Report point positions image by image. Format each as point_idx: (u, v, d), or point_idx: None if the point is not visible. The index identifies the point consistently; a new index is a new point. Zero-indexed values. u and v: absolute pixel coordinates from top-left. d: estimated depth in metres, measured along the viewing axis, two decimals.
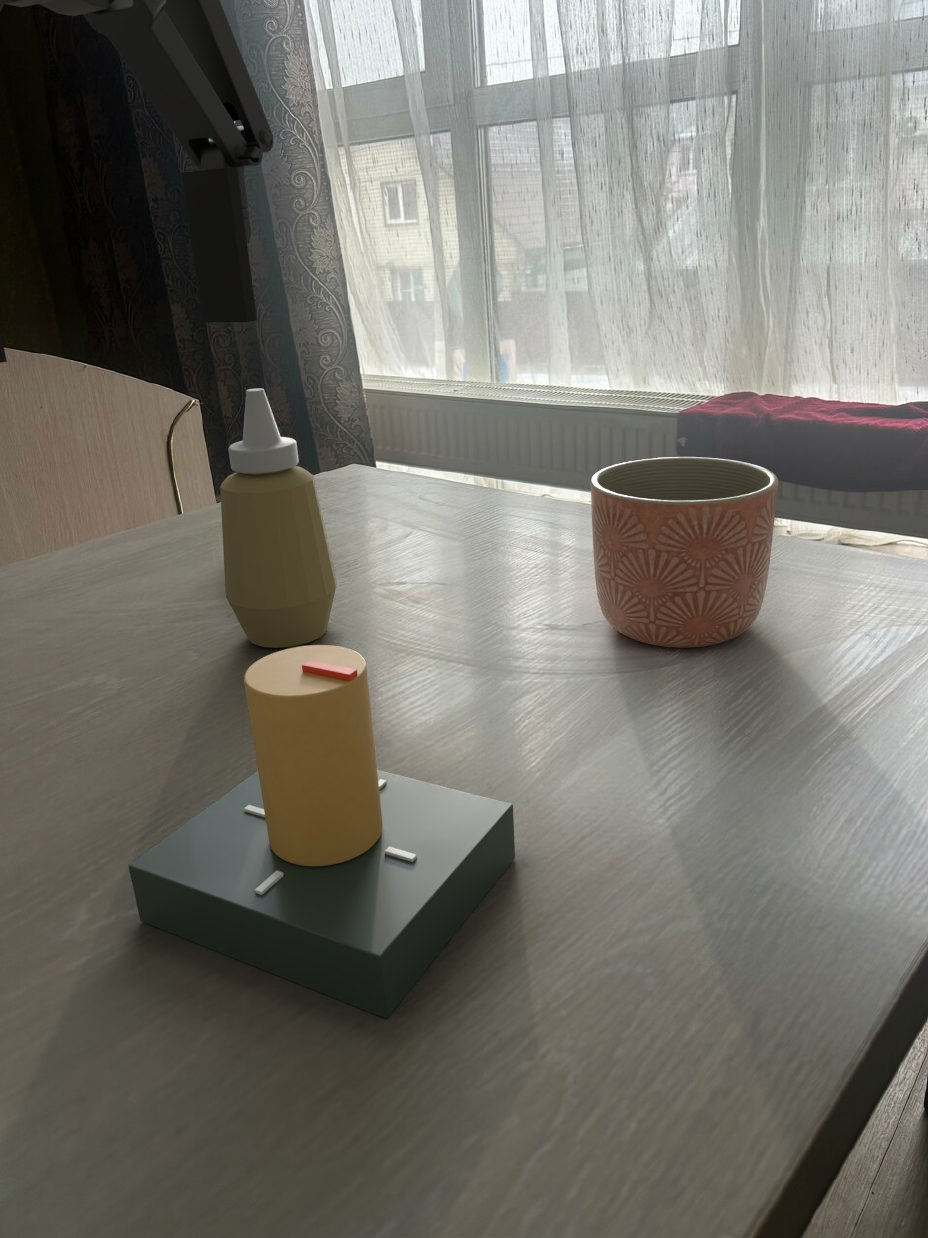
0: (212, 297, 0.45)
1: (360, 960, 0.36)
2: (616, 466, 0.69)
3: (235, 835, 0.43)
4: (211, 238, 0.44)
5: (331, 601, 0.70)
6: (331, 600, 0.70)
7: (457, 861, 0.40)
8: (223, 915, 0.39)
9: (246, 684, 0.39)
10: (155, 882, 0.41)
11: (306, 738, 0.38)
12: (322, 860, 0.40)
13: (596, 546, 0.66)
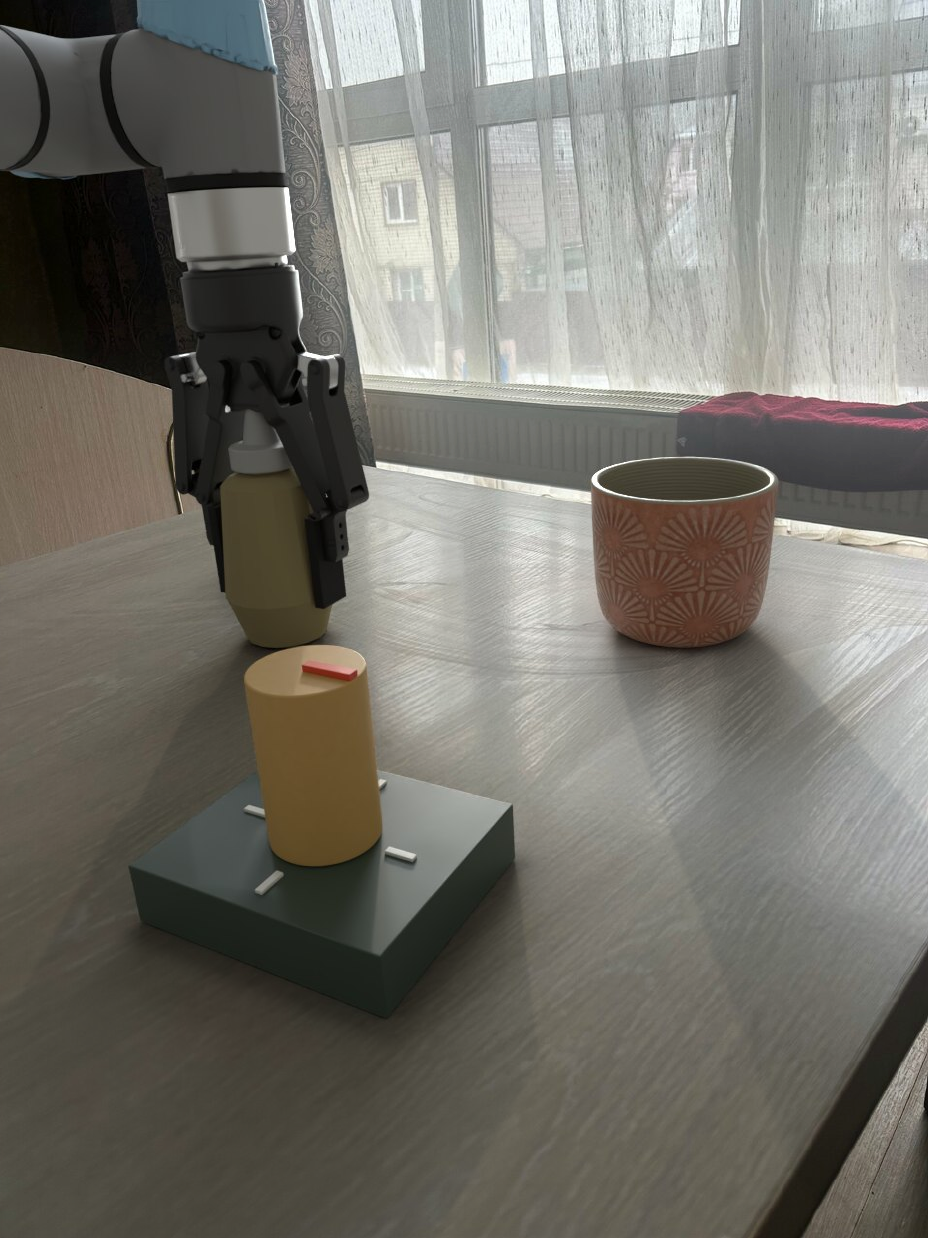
0: None
1: (360, 960, 0.36)
2: (616, 466, 0.69)
3: (235, 835, 0.43)
4: None
5: None
6: None
7: (457, 861, 0.40)
8: (223, 915, 0.39)
9: (246, 684, 0.39)
10: (155, 882, 0.41)
11: (306, 738, 0.38)
12: (322, 860, 0.40)
13: (596, 546, 0.66)
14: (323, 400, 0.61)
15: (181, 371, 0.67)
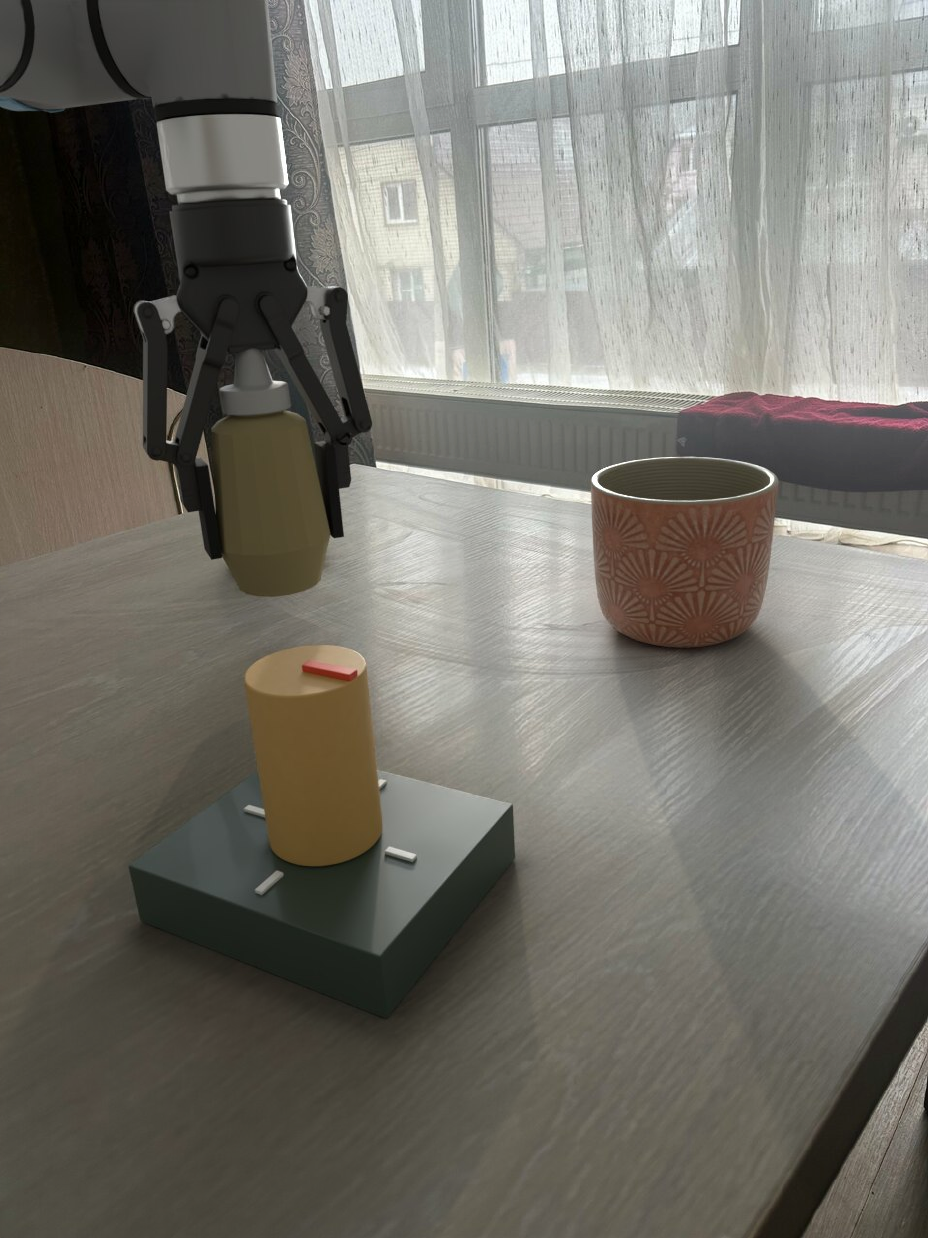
0: None
1: (360, 960, 0.36)
2: (616, 466, 0.69)
3: (235, 835, 0.43)
4: None
5: None
6: None
7: (457, 861, 0.40)
8: (223, 915, 0.39)
9: (246, 684, 0.39)
10: (155, 882, 0.41)
11: (306, 738, 0.38)
12: (322, 860, 0.40)
13: (596, 546, 0.66)
14: (346, 327, 0.65)
15: (159, 317, 0.61)
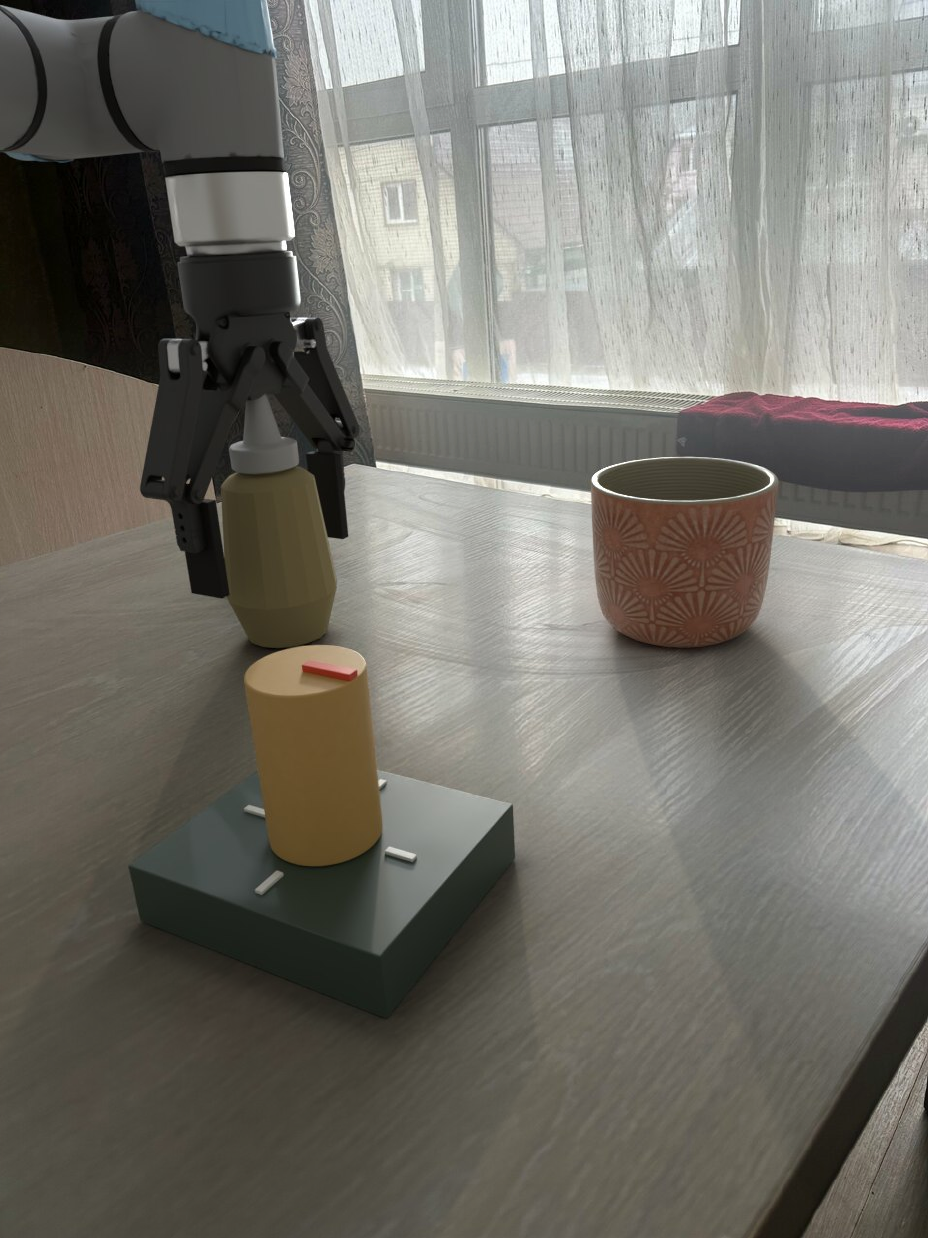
0: None
1: (360, 960, 0.36)
2: (616, 466, 0.69)
3: (235, 835, 0.43)
4: None
5: None
6: None
7: (457, 861, 0.40)
8: (223, 915, 0.39)
9: (246, 684, 0.39)
10: (155, 882, 0.41)
11: (306, 738, 0.38)
12: (322, 860, 0.40)
13: (596, 546, 0.66)
14: (327, 351, 0.70)
15: (199, 357, 0.59)
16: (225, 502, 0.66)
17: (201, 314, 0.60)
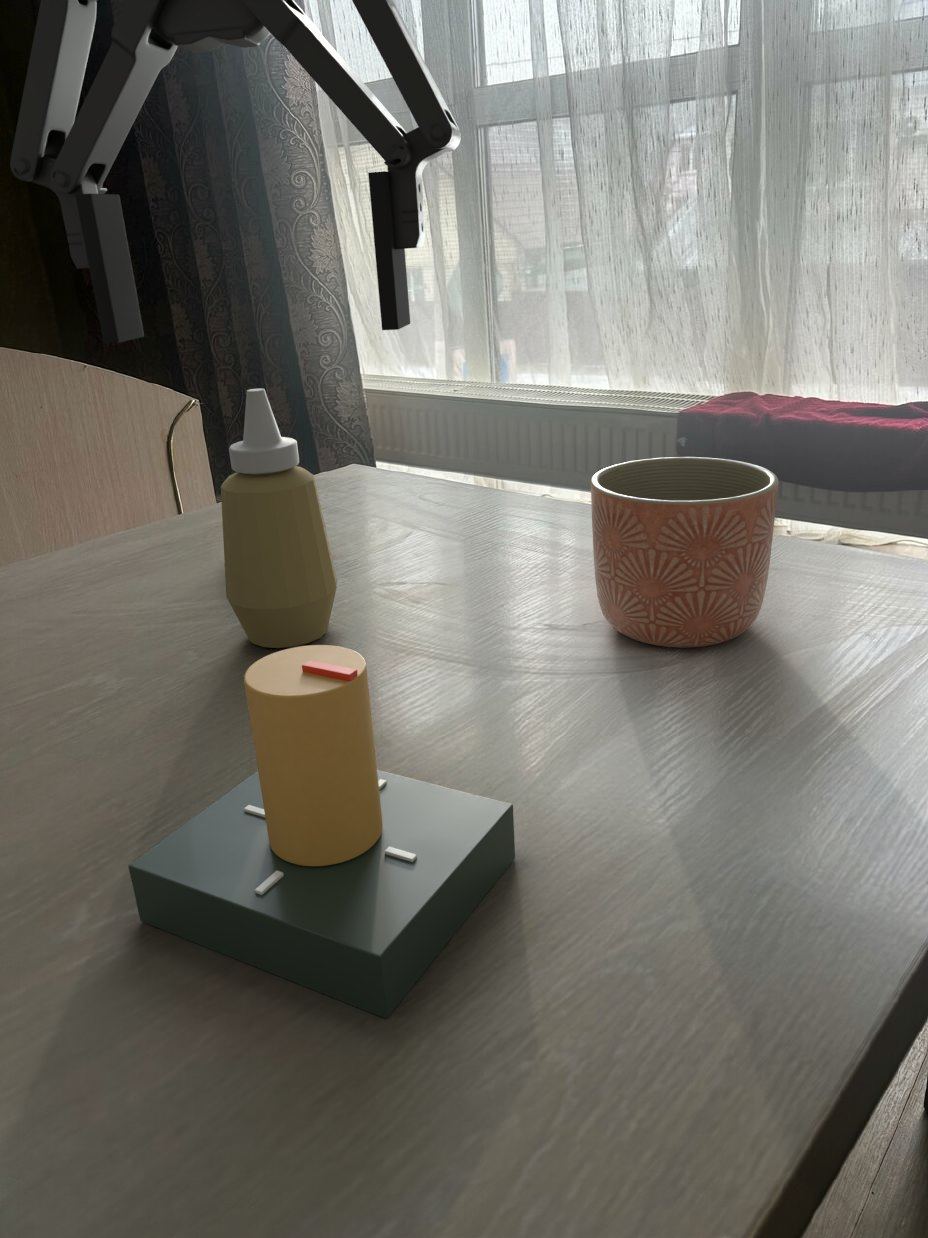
0: (122, 316, 0.46)
1: (360, 960, 0.36)
2: (616, 466, 0.69)
3: (235, 835, 0.43)
4: (116, 259, 0.46)
5: None
6: None
7: (457, 861, 0.40)
8: (223, 915, 0.39)
9: (246, 684, 0.39)
10: (155, 882, 0.41)
11: (306, 738, 0.38)
12: (322, 860, 0.40)
13: (596, 546, 0.66)
14: None
15: None
16: (225, 502, 0.66)
17: None
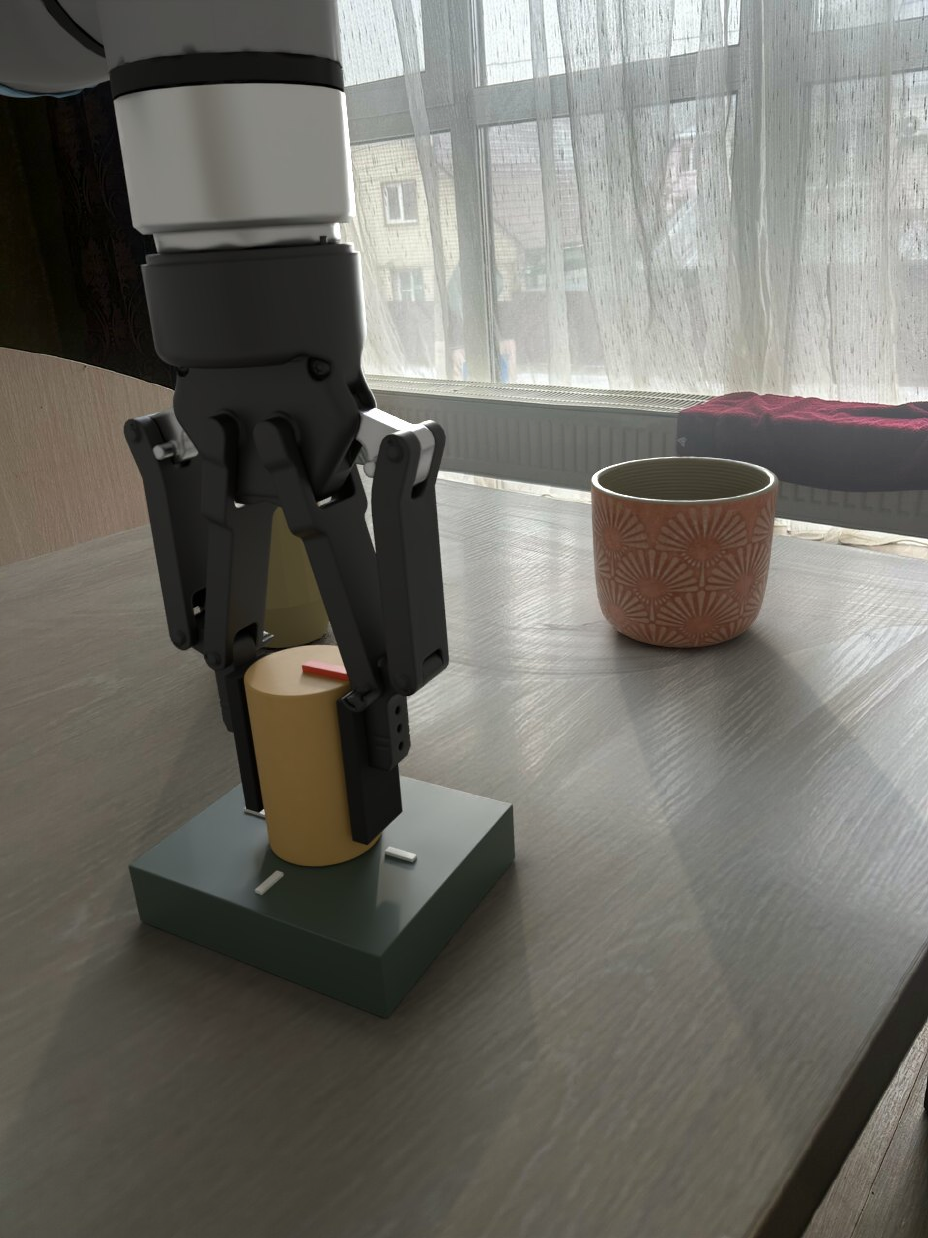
0: None
1: (360, 960, 0.36)
2: (616, 466, 0.69)
3: (235, 835, 0.43)
4: None
5: None
6: None
7: (457, 861, 0.40)
8: (223, 915, 0.39)
9: (246, 684, 0.39)
10: (155, 882, 0.41)
11: (306, 738, 0.38)
12: (322, 860, 0.40)
13: (596, 546, 0.66)
14: (400, 510, 0.33)
15: (153, 441, 0.38)
16: None
17: None
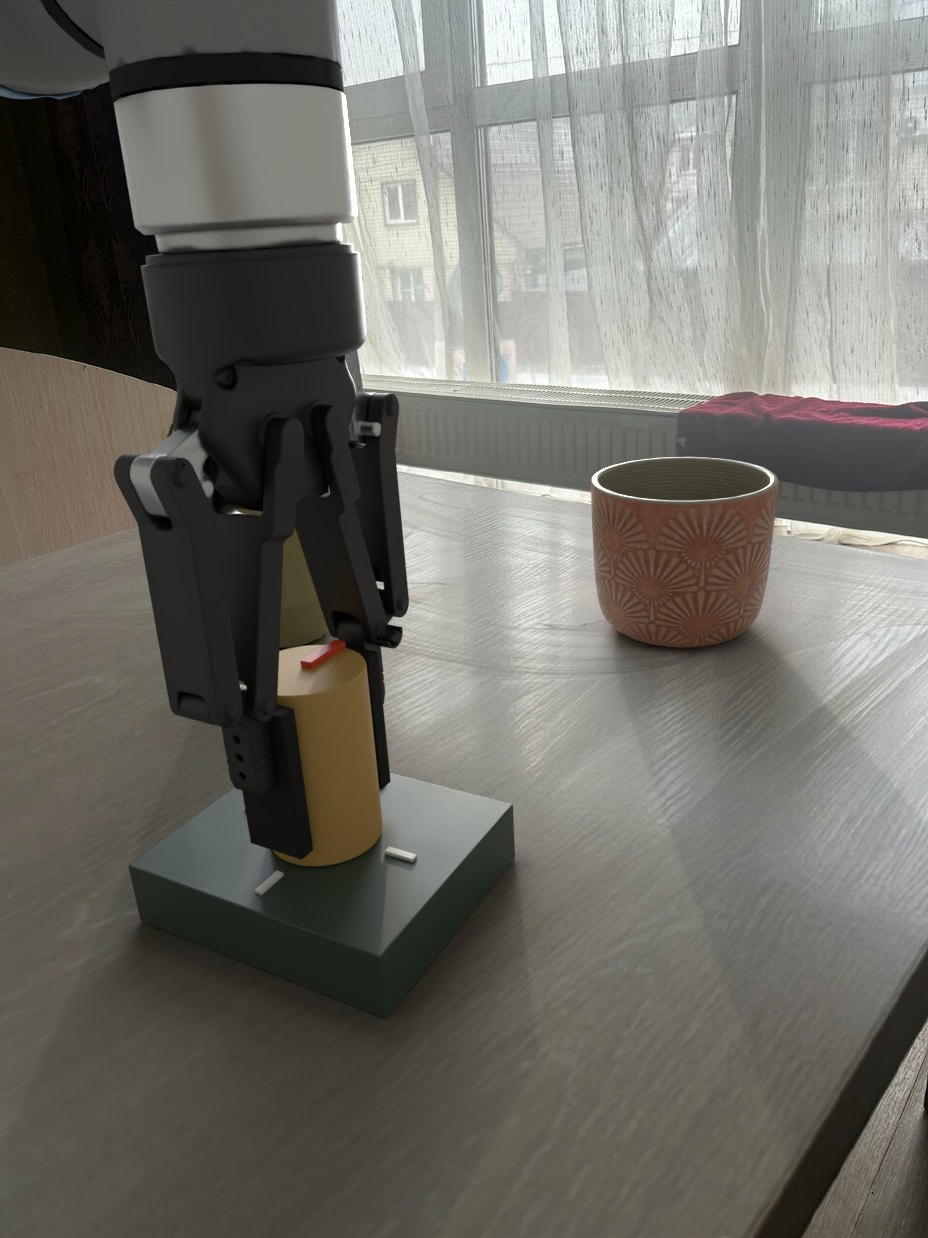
0: None
1: (360, 960, 0.36)
2: (616, 466, 0.69)
3: (235, 835, 0.43)
4: None
5: None
6: None
7: (457, 861, 0.40)
8: (223, 915, 0.39)
9: (324, 692, 0.38)
10: (155, 882, 0.41)
11: None
12: None
13: (596, 546, 0.66)
14: (394, 455, 0.41)
15: (194, 479, 0.31)
16: None
17: (185, 363, 0.32)
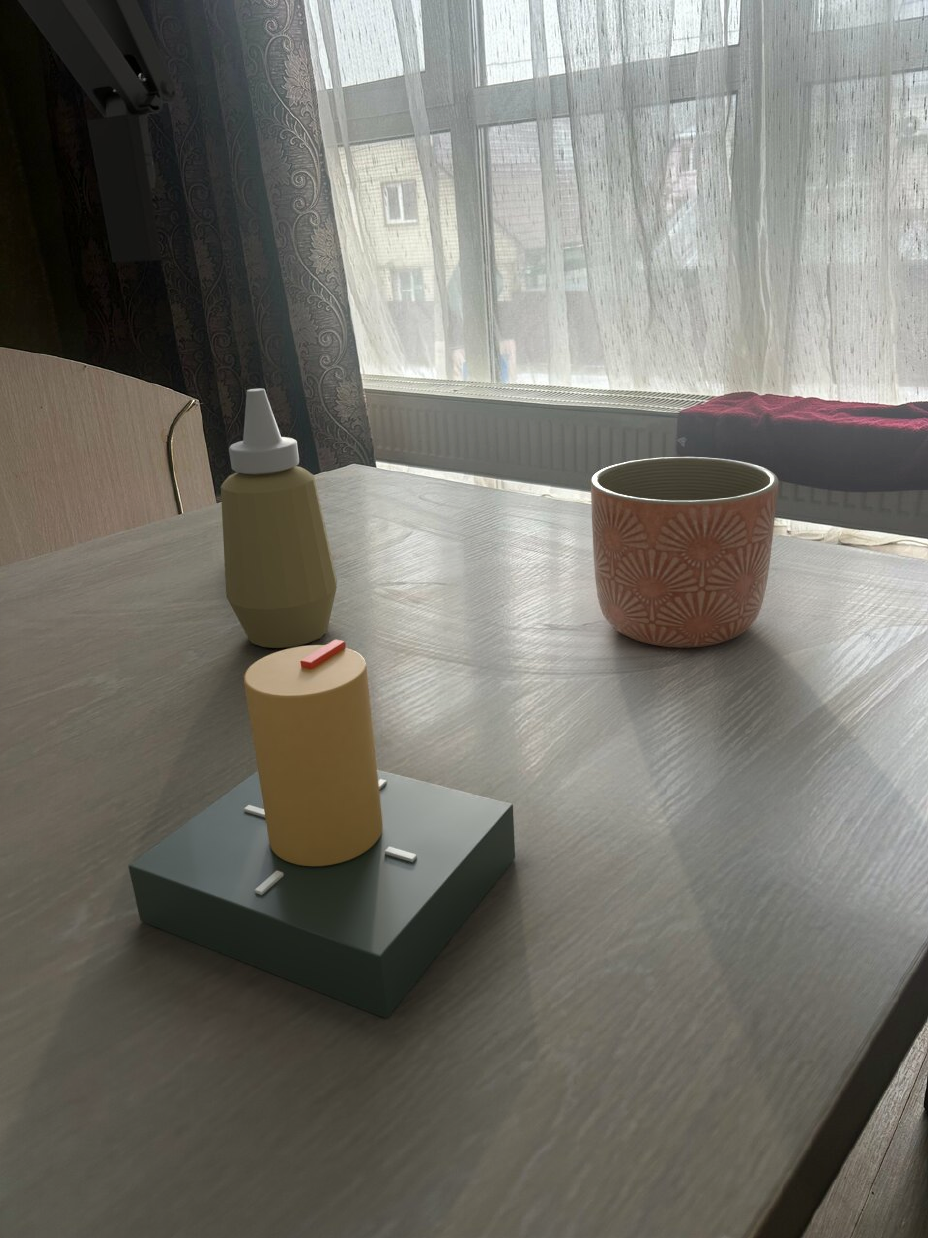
0: None
1: (360, 960, 0.36)
2: (616, 466, 0.69)
3: (235, 835, 0.43)
4: None
5: None
6: None
7: (457, 861, 0.40)
8: (223, 915, 0.39)
9: (324, 692, 0.38)
10: (155, 882, 0.41)
11: None
12: None
13: (596, 546, 0.66)
14: None
15: None
16: (225, 502, 0.66)
17: None
